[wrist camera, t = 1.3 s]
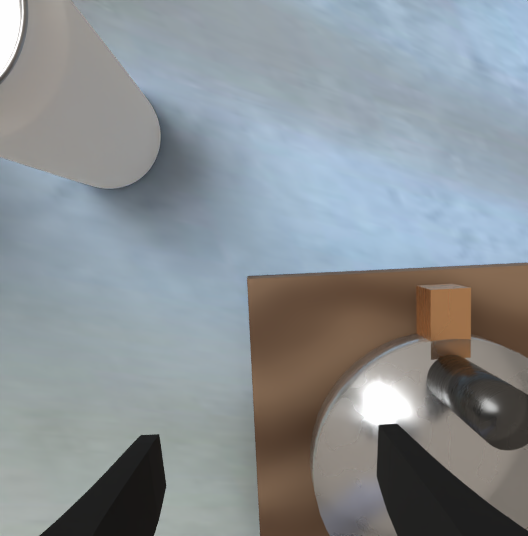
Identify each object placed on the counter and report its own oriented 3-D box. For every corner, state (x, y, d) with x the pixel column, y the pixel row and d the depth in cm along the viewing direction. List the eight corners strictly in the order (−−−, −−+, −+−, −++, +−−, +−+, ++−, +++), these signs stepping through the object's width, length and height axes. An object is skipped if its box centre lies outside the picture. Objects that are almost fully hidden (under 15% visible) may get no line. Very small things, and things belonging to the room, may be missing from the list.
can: (151, 73, 21) (9, -153, 9) (172, 180, 21) (66, 105, 9) (45, 91, 21) (-242, -110, 9) (69, 198, 21) (-170, 146, 9)
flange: (555, 562, 20) (671, 686, 14) (313, 578, 19) (336, 711, 14) (564, 278, 18) (696, 295, 13) (303, 291, 18) (324, 314, 13)
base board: (546, 545, 24) (654, 658, 18) (262, 563, 24) (264, 686, 17) (554, 261, 22) (676, 270, 16) (247, 276, 22) (244, 291, 15)
